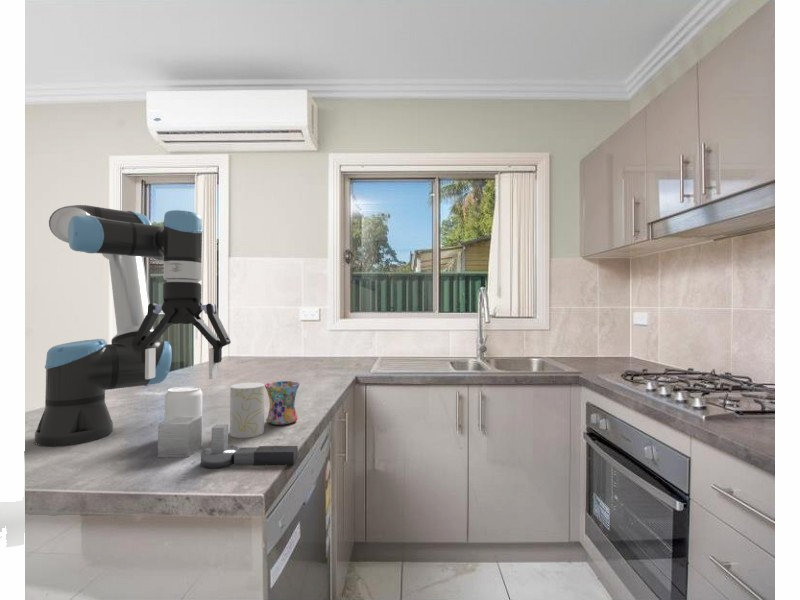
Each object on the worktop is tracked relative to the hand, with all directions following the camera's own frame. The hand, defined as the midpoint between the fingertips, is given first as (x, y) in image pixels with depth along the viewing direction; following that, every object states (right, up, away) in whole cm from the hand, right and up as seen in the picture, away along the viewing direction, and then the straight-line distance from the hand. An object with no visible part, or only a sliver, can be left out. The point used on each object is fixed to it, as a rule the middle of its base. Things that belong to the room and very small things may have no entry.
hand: (181, 378), depth 93 cm
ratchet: (+17, -16, -6) cm, 24 cm away
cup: (+9, -17, +14) cm, 24 cm away
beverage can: (-5, -17, +10) cm, 20 cm away
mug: (+15, -17, +25) cm, 34 cm away
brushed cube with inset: (0, -16, 0) cm, 16 cm away
